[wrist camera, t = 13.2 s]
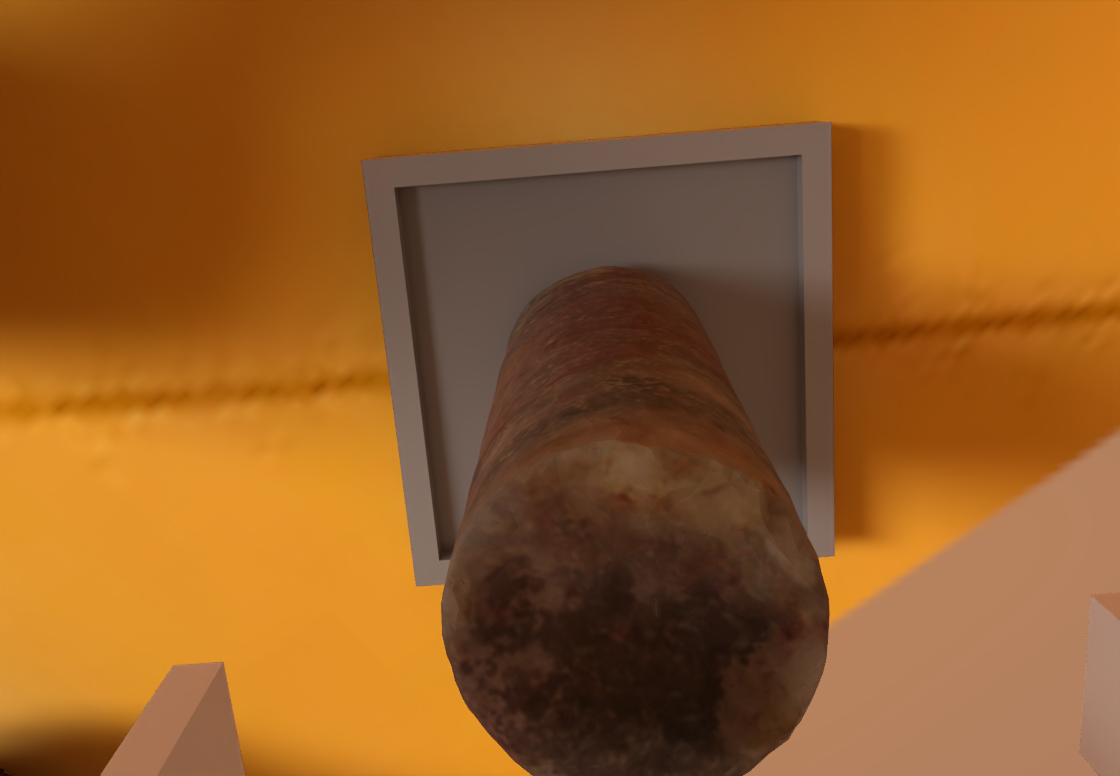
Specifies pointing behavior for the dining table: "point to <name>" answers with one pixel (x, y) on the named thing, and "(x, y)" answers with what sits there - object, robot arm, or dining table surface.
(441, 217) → the tray
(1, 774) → the vase
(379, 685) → the dining table surface
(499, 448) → the brown cylinder
